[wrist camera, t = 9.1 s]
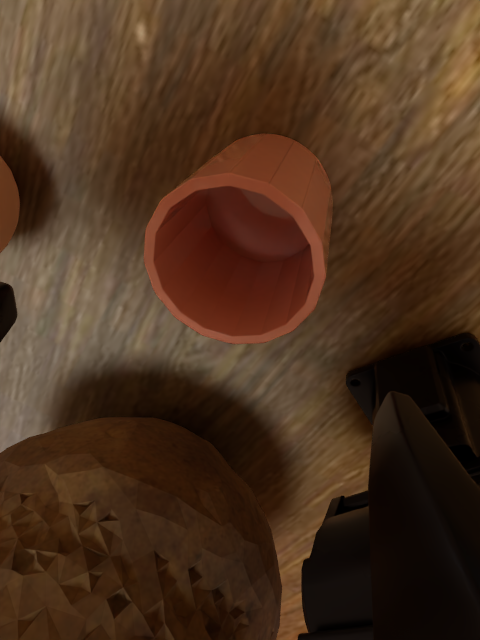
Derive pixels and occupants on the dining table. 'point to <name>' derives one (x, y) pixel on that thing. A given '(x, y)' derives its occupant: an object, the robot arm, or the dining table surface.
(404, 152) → the dining table surface
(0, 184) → the egg
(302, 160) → the cup
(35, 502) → the bowl
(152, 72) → the dining table surface
